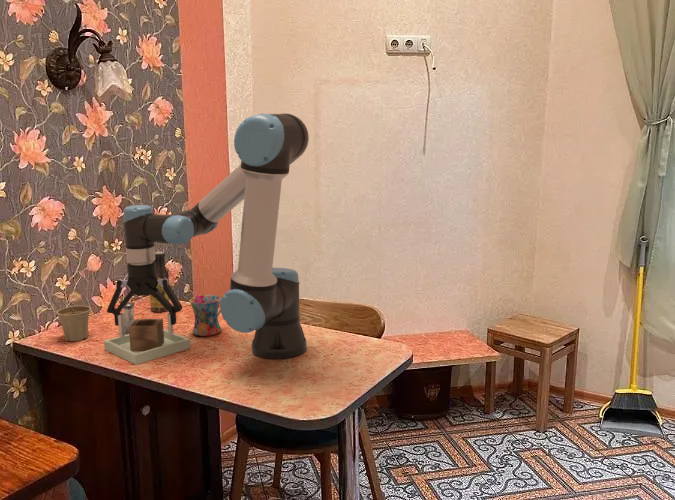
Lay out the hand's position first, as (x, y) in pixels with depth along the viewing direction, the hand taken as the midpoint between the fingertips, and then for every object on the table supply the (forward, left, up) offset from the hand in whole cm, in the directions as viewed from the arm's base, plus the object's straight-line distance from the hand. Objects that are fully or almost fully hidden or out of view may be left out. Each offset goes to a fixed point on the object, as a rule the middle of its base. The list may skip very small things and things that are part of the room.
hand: (146, 336), depth 186 cm
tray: (0, 0, -4) cm, 4 cm away
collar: (0, 0, -3) cm, 3 cm away
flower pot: (+24, +10, -4) cm, 26 cm away
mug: (-1, -20, -4) cm, 21 cm away
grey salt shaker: (+16, -4, -4) cm, 17 cm away
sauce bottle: (+30, -22, -4) cm, 38 cm away
